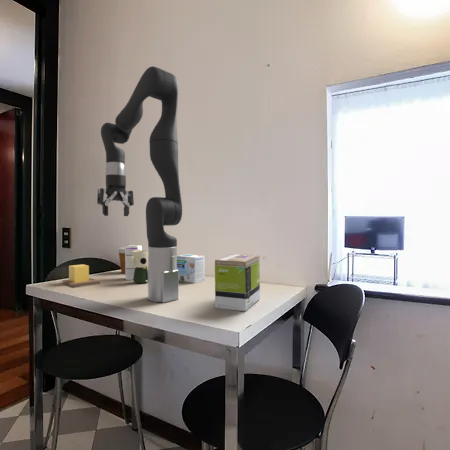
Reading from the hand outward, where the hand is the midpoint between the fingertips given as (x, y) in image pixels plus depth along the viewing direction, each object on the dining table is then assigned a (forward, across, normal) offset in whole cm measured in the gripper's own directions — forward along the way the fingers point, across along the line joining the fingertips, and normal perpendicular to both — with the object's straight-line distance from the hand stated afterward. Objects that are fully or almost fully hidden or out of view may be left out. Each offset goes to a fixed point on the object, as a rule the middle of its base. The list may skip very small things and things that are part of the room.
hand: (116, 216), depth 123 cm
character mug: (+28, +9, -3) cm, 29 cm away
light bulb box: (+28, +26, -15) cm, 41 cm away
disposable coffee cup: (+27, +17, +20) cm, 38 cm away
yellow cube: (+26, -9, +14) cm, 31 cm away
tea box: (+29, +12, -52) cm, 61 cm away
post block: (+27, -9, +13) cm, 31 cm away
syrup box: (+27, +11, +6) cm, 30 cm away
